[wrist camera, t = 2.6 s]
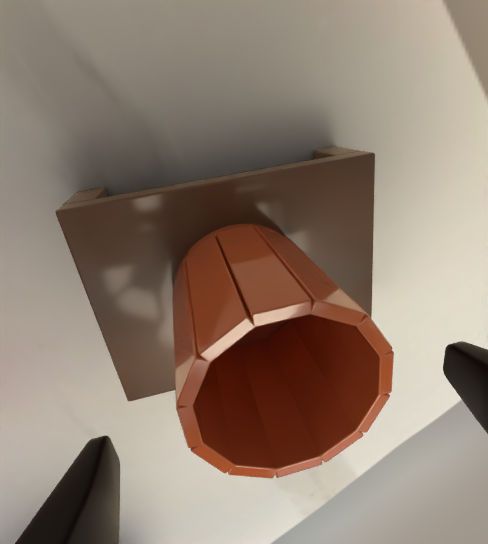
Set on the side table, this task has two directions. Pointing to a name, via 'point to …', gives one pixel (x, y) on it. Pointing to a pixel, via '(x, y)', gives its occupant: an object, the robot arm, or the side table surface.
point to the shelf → (198, 223)
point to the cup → (271, 356)
